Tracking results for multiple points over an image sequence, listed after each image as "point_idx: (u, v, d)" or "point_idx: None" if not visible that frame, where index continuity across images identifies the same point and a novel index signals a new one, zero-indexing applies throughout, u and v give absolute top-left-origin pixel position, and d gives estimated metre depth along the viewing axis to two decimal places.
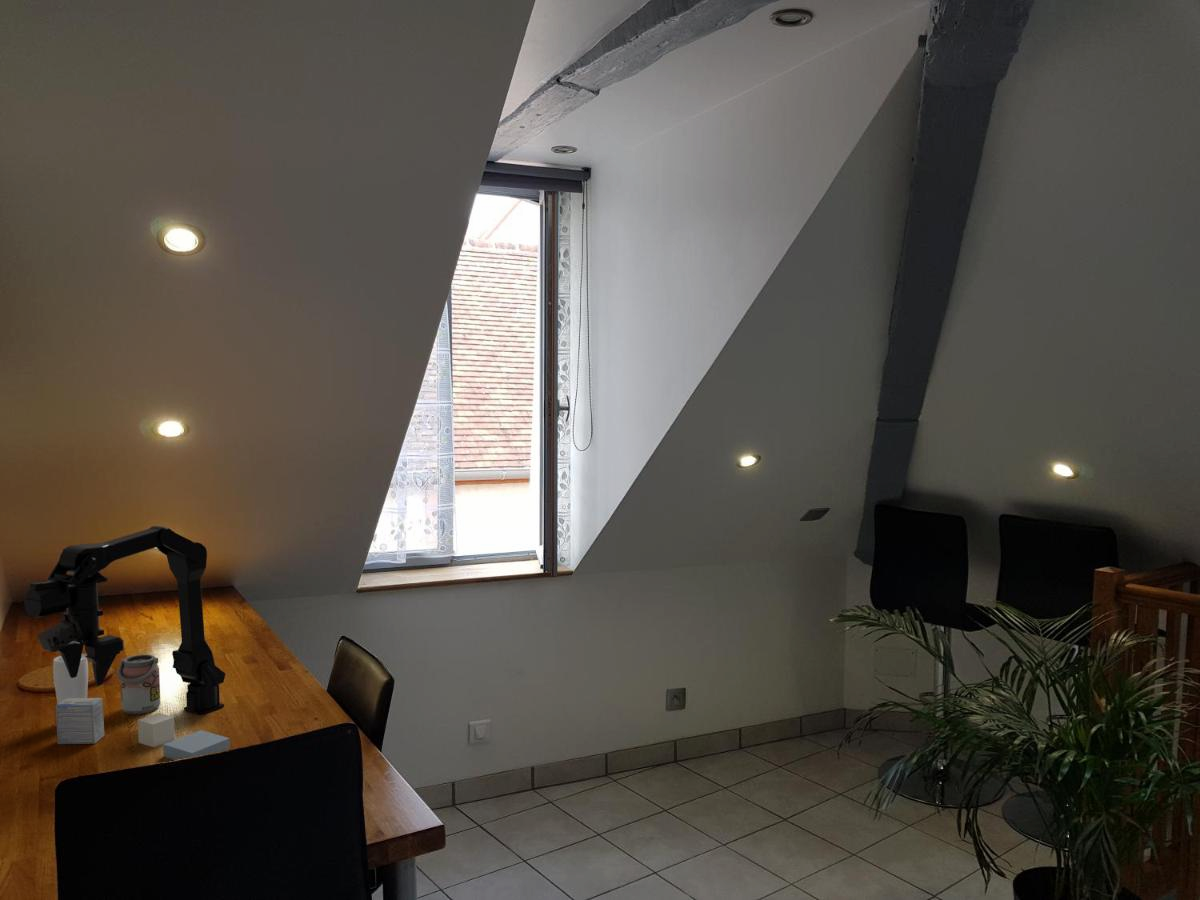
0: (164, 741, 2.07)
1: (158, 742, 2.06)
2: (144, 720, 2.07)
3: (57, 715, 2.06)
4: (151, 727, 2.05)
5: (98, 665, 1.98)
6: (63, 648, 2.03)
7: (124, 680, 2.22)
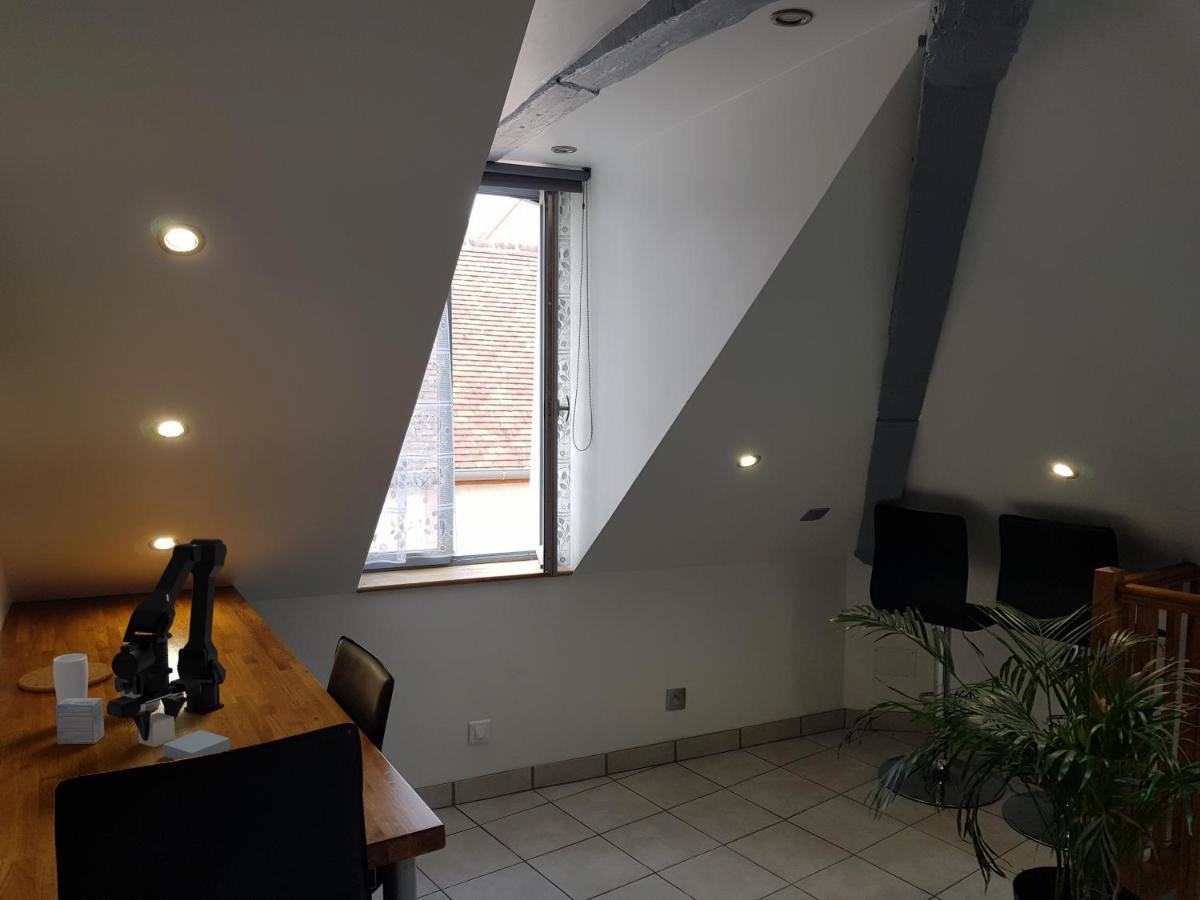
0: (164, 740, 2.07)
1: (158, 741, 2.06)
2: None
3: (57, 715, 2.06)
4: (151, 726, 2.05)
5: (134, 720, 2.05)
6: (164, 700, 2.11)
7: None
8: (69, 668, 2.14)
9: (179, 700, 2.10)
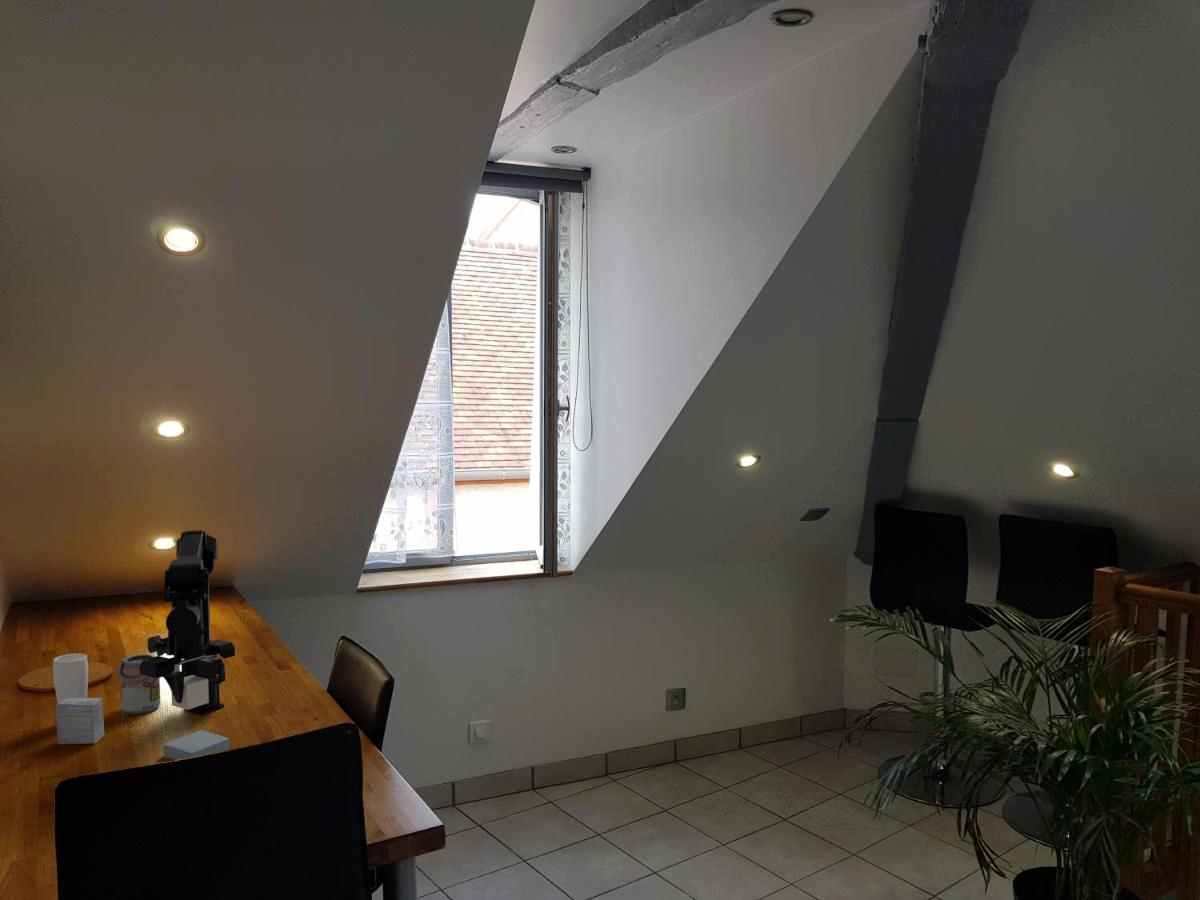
0: (198, 703, 2.00)
1: (192, 704, 1.99)
2: None
3: (57, 715, 2.06)
4: (185, 688, 1.98)
5: (168, 681, 1.98)
6: (197, 663, 2.04)
7: (124, 680, 2.22)
8: (69, 668, 2.14)
9: (213, 662, 2.03)
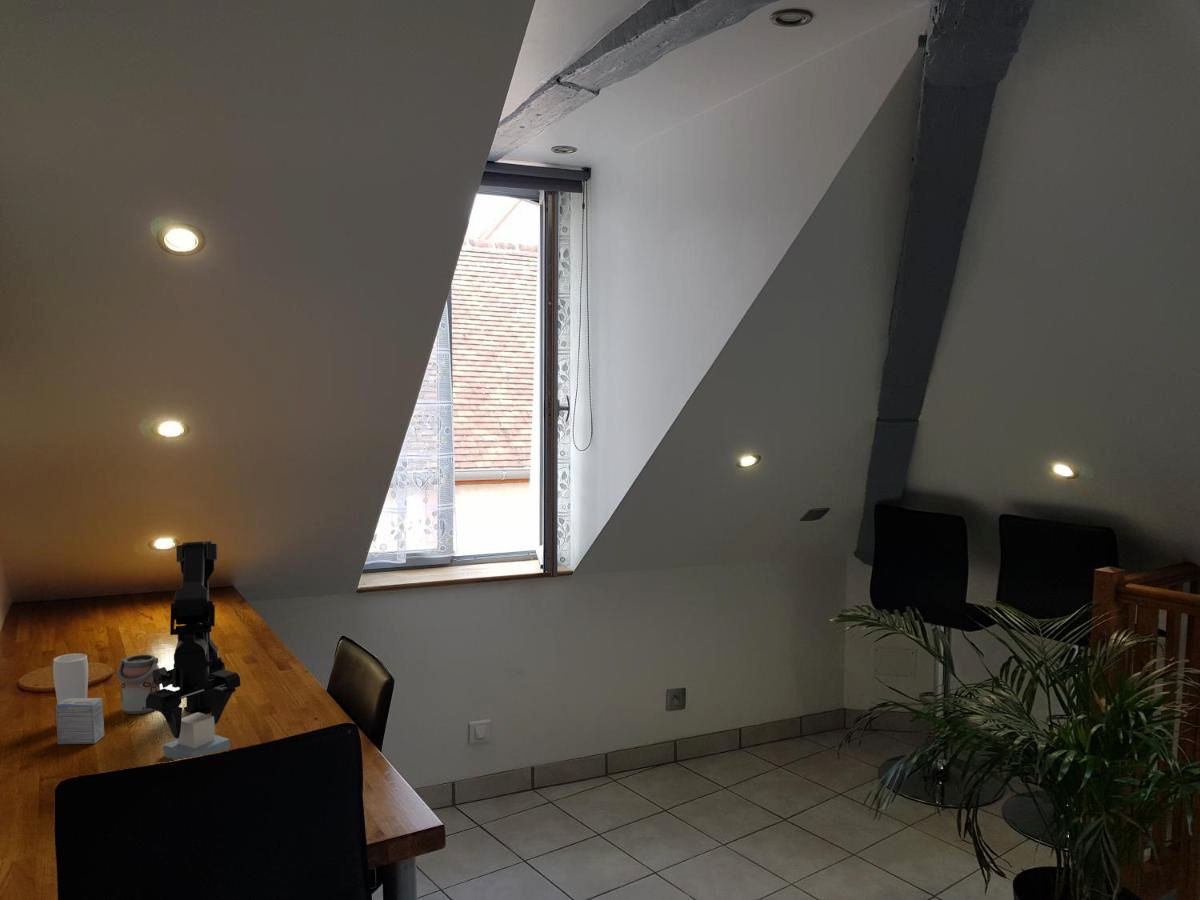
0: (204, 741, 2.00)
1: (198, 742, 1.99)
2: (184, 720, 2.00)
3: (57, 715, 2.06)
4: (192, 727, 1.98)
5: (165, 716, 1.96)
6: (211, 691, 2.06)
7: (124, 680, 2.22)
8: (69, 668, 2.14)
9: (227, 690, 2.05)
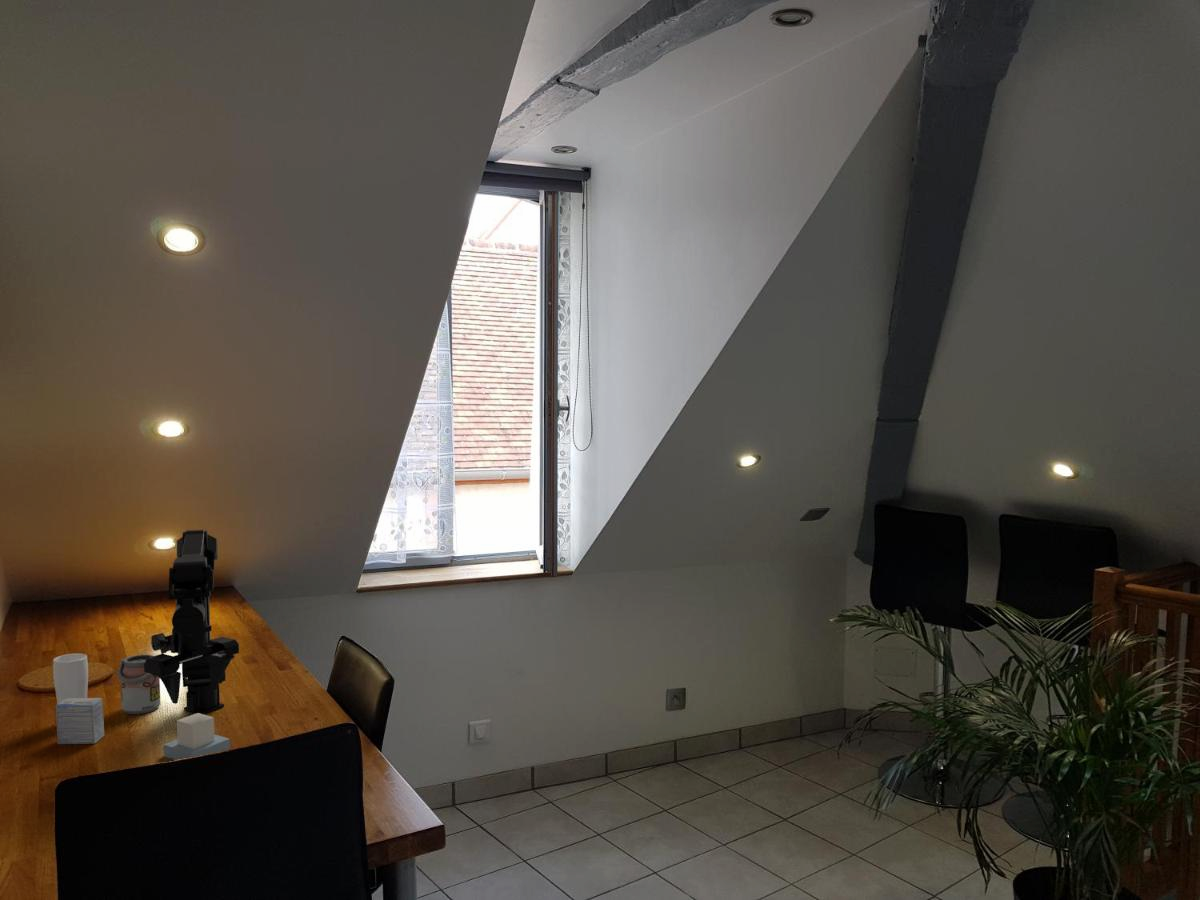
0: (204, 742, 2.00)
1: (198, 743, 1.99)
2: (183, 721, 2.00)
3: (57, 715, 2.06)
4: (191, 727, 1.98)
5: (164, 681, 1.96)
6: (209, 658, 2.06)
7: (124, 680, 2.22)
8: (69, 668, 2.14)
9: (225, 657, 2.04)
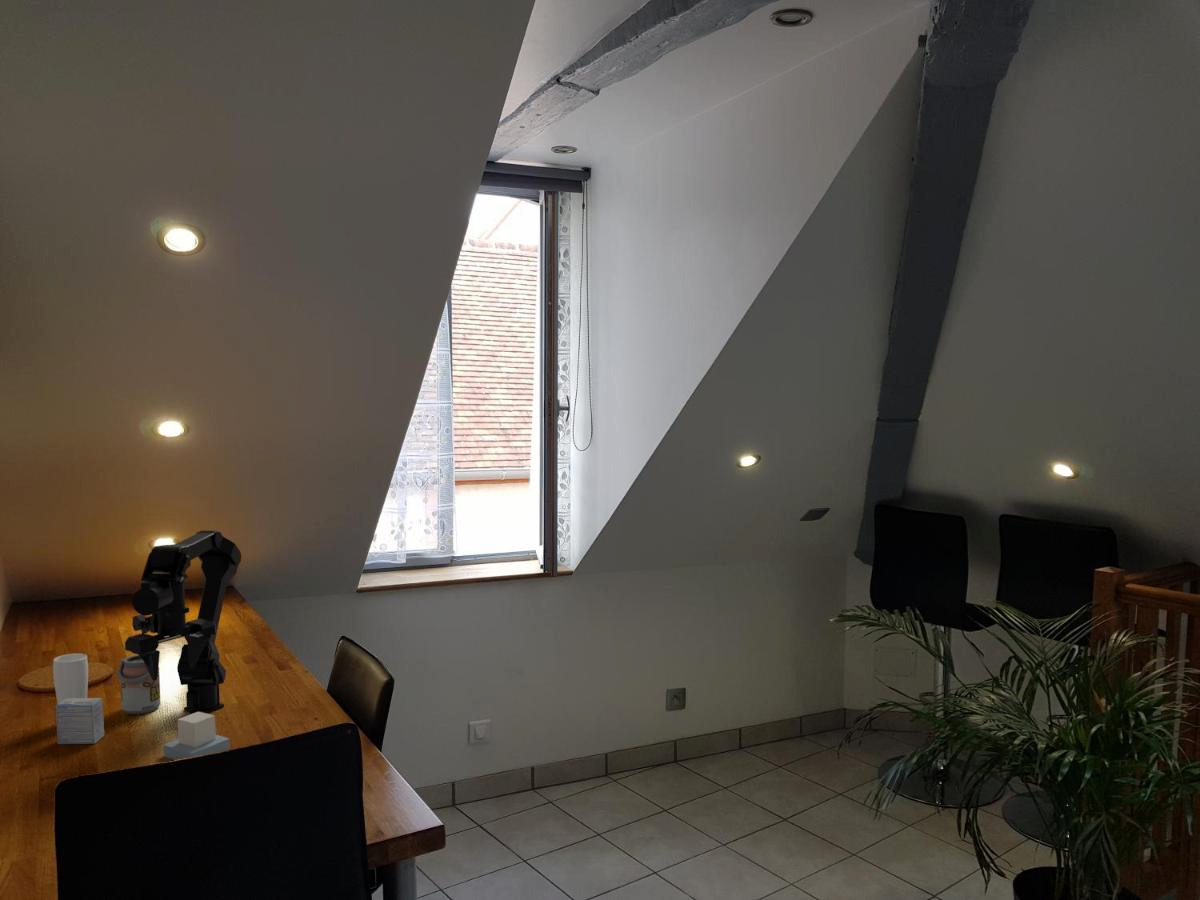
0: (205, 740, 2.01)
1: (200, 741, 2.00)
2: (184, 719, 2.00)
3: (57, 715, 2.06)
4: (193, 726, 1.99)
5: (144, 659, 2.08)
6: (188, 638, 2.18)
7: (124, 680, 2.22)
8: (69, 668, 2.14)
9: (203, 637, 2.17)
